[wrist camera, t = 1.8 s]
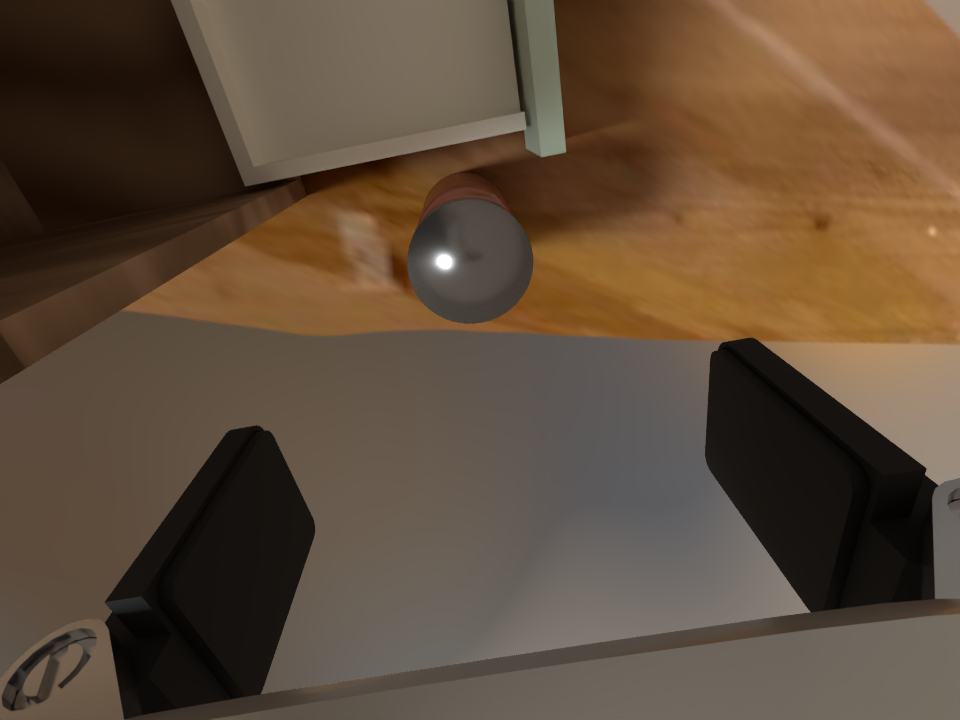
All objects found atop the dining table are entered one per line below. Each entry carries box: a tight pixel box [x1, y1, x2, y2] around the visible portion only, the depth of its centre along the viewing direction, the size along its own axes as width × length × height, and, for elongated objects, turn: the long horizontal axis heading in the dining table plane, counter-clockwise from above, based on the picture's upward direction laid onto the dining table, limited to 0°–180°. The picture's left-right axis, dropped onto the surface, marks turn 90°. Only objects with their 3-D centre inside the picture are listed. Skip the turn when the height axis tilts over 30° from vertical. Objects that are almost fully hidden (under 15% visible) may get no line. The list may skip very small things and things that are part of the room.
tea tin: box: [407, 172, 533, 324], centre depth 25 cm, size 5×5×10 cm
